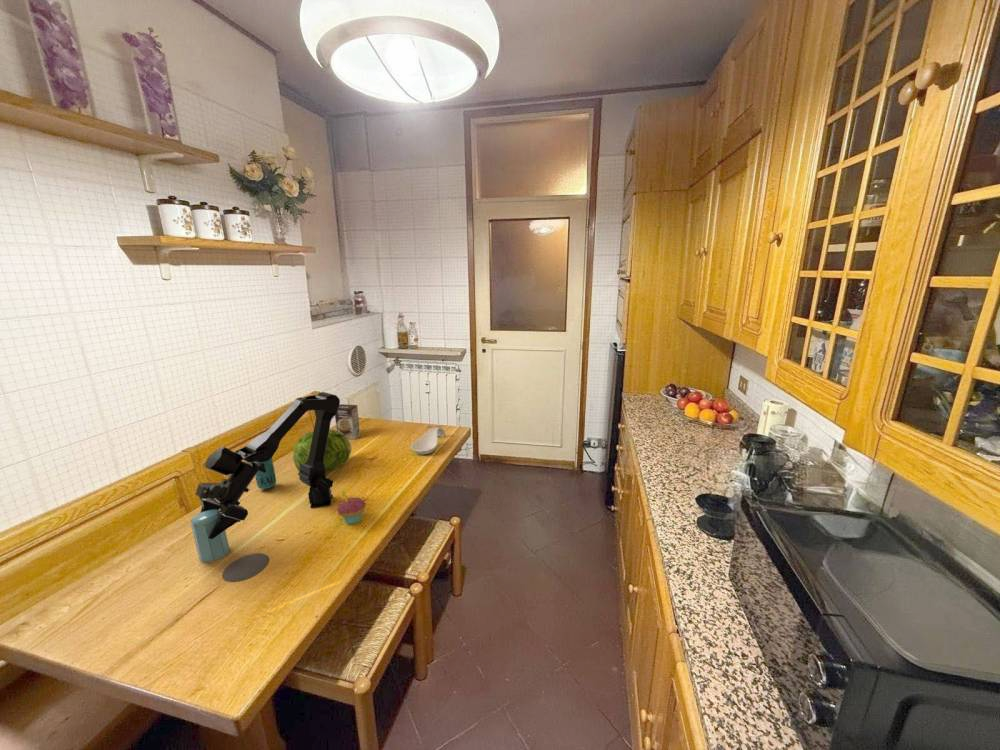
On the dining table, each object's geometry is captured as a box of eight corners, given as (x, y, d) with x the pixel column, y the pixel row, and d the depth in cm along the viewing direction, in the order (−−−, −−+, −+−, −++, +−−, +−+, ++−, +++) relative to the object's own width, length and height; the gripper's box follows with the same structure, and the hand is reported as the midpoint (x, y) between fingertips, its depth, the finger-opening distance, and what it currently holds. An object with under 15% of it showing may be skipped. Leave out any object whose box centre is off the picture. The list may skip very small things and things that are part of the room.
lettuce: (369, 442, 170) (340, 414, 175) (327, 456, 148) (296, 423, 153) (349, 473, 175) (322, 445, 179) (306, 490, 153) (276, 458, 158)
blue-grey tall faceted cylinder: (233, 545, 119) (225, 508, 116) (221, 561, 112) (212, 522, 109) (208, 548, 118) (199, 510, 115) (195, 564, 111) (185, 525, 108)
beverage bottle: (263, 484, 154) (253, 436, 149) (280, 483, 154) (272, 435, 149) (254, 493, 148) (244, 443, 143) (273, 492, 148) (263, 442, 143)
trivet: (274, 551, 116) (274, 550, 116) (262, 578, 105) (261, 577, 105) (232, 558, 113) (232, 557, 113) (215, 586, 103) (214, 585, 103)
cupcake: (340, 530, 124) (335, 496, 122) (337, 516, 132) (333, 483, 129) (369, 522, 128) (365, 488, 125) (364, 509, 136) (360, 477, 133)
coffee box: (337, 439, 195) (333, 408, 192) (344, 434, 202) (340, 403, 198) (354, 440, 194) (350, 408, 190) (361, 434, 200) (357, 404, 196)
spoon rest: (431, 459, 172) (430, 443, 170) (407, 456, 175) (405, 441, 174) (452, 437, 194) (451, 424, 193) (430, 435, 197) (429, 422, 196)
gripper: (200, 462, 117) (162, 514, 111) (227, 479, 107) (186, 537, 101) (235, 475, 125) (201, 524, 119) (263, 493, 115) (227, 547, 109)
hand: (203, 532), depth 112 cm, fingers open, 9 cm apart
